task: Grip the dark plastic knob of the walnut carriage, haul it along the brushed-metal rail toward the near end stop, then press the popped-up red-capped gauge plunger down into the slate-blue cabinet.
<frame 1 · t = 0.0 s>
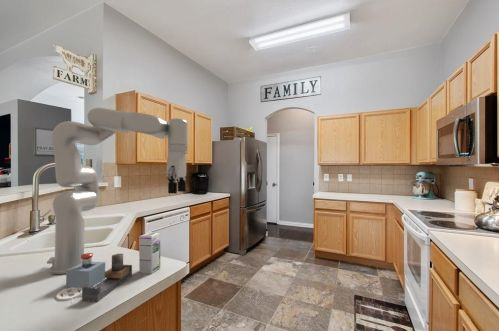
hand: (177, 192, 93), 31 cm above the worktop, fingers open, 9 cm apart
syrup box: (149, 270, 92), on the worktop
pendant: (71, 297, 73), on the worktop
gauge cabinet: (86, 283, 81), on the worktop
plunger: (86, 260, 82), point 8 cm above the worktop, slide at 0.0 cm
carriage: (117, 265, 83), point 6 cm above the worktop, slide at 0.0 cm
rail: (109, 287, 79), on the worktop
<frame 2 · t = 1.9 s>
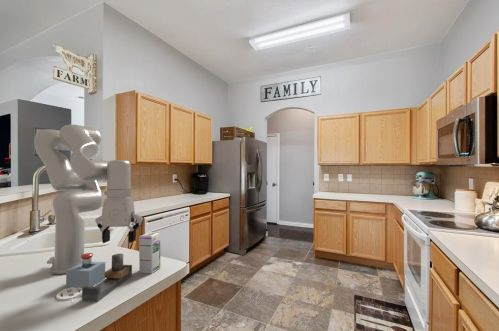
hand: (119, 241, 83), 14 cm above the worktop, fingers open, 9 cm apart
nothing on the worktop moved.
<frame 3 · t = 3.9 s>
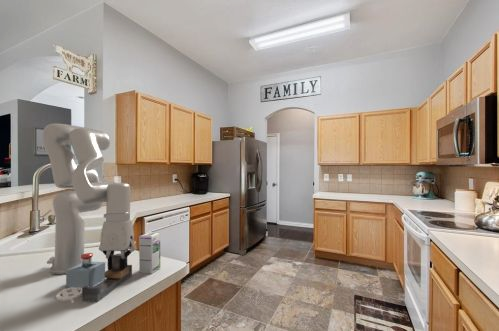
hand: (117, 268, 83), 5 cm above the worktop, fingers closed on carriage, 3 cm apart
carriage: (117, 265, 83), point 6 cm above the worktop, slide at 0.0 cm, touching gripper
everything else where it was.
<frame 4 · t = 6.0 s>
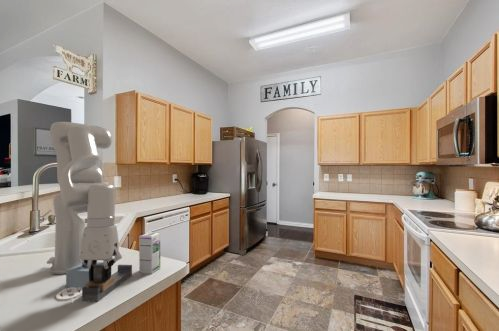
hand: (100, 279, 74), 5 cm above the worktop, fingers closed on carriage, 3 cm apart
carriage: (100, 275, 74), point 6 cm above the worktop, slide at 8.8 cm, touching gripper
everything else where it was.
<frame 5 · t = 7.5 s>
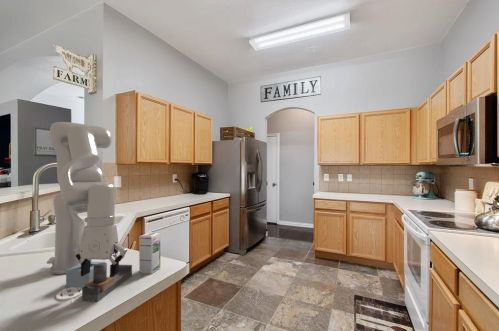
hand: (99, 274, 74), 6 cm above the worktop, fingers open, 9 cm apart
carriage: (100, 275, 74), point 6 cm above the worktop, slide at 8.8 cm
everything else where it was.
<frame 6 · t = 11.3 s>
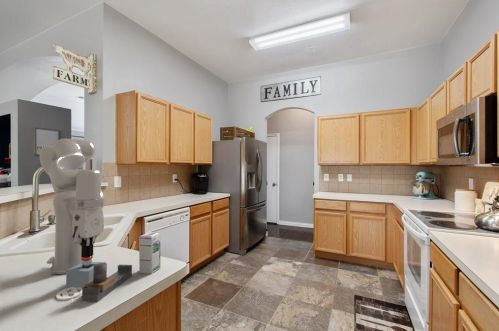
hand: (87, 256, 82), 10 cm above the worktop, fingers closed
plunger: (86, 261, 82), point 8 cm above the worktop, slide at -0.6 cm, touching gripper
everything else where it was.
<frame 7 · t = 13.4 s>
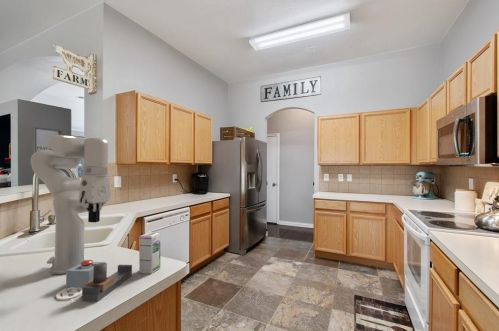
hand: (93, 221, 85), 21 cm above the worktop, fingers closed
plunger: (86, 267, 82), point 6 cm above the worktop, slide at -2.5 cm
everything else where it was.
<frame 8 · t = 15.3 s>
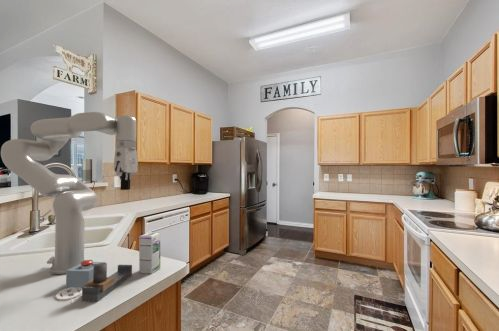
hand: (125, 189, 96), 32 cm above the worktop, fingers closed
nothing on the worktop moved.
at the end: carriage slide at 8.8 cm; plunger slide at -2.5 cm; the gripper is holding nothing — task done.
